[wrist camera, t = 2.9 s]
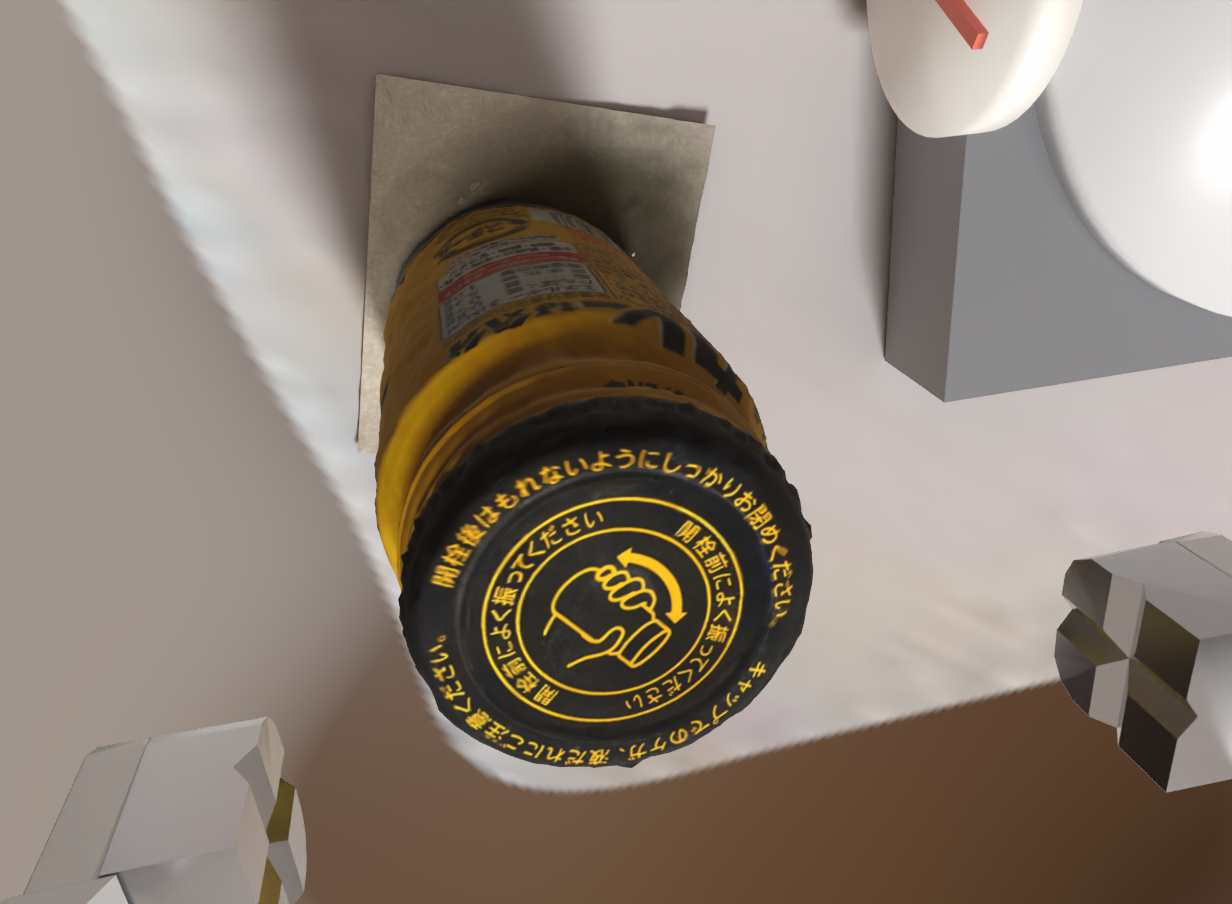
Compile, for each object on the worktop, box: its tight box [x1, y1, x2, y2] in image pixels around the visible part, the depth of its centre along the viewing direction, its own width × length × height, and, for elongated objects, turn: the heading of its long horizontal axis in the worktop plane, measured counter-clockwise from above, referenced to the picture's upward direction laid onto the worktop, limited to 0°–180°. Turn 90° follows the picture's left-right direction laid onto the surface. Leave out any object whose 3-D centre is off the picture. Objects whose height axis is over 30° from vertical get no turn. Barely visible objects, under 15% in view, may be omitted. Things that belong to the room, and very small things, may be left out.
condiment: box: [358, 74, 813, 768], centre depth 16 cm, size 7×8×12 cm
